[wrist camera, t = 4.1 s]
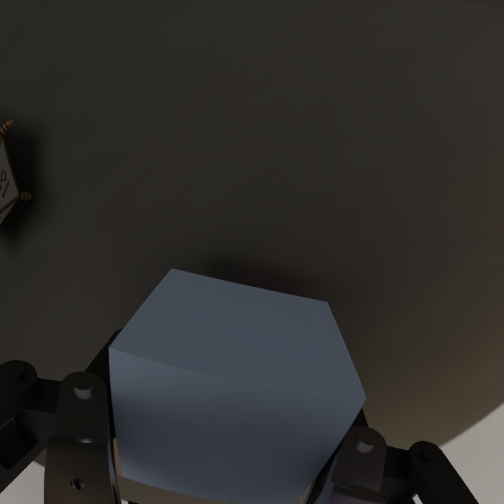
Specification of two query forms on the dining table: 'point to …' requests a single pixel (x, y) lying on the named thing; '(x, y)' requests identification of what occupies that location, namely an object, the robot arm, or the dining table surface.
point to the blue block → (230, 390)
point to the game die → (8, 178)
